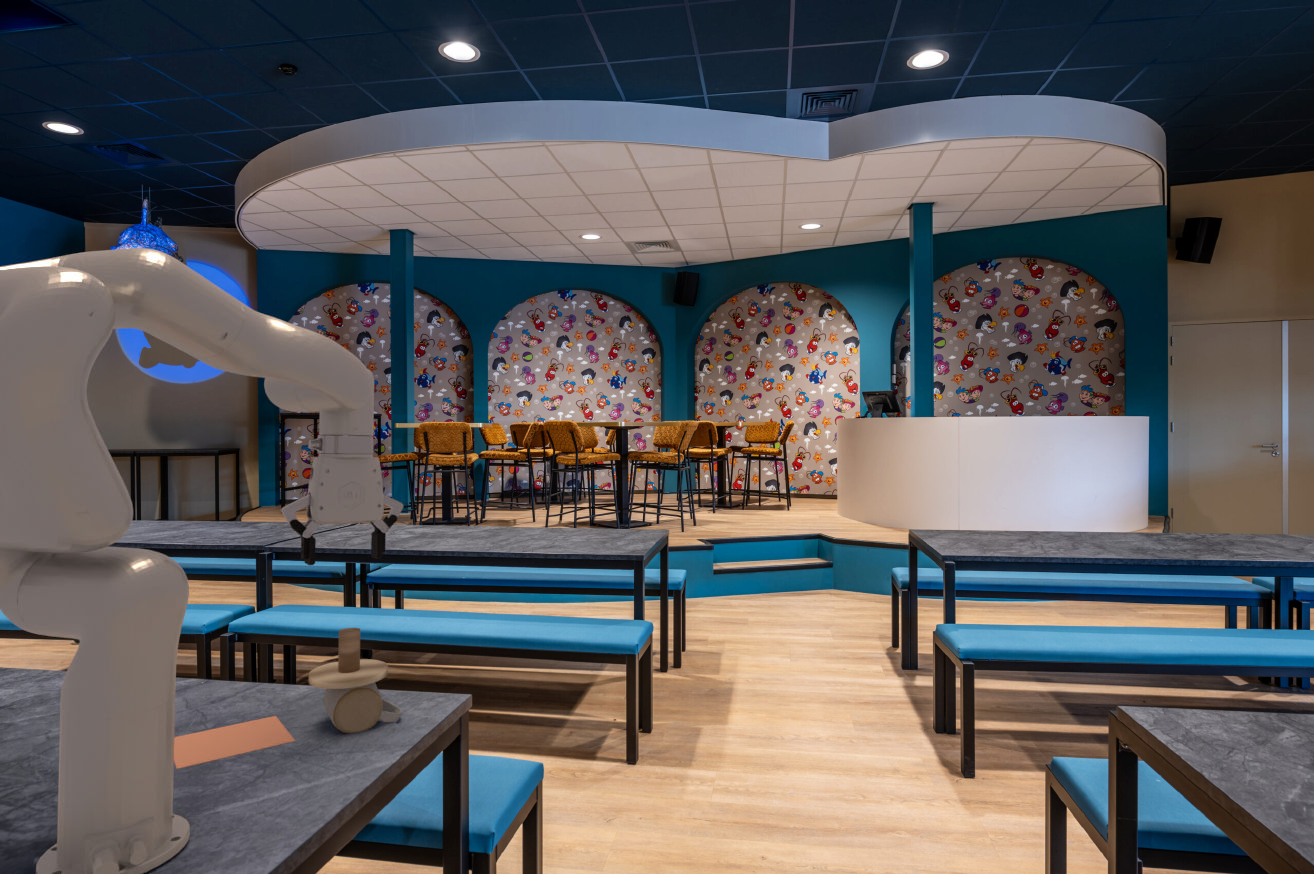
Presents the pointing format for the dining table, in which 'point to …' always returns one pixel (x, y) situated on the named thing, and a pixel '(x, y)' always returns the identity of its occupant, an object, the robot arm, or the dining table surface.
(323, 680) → the lid
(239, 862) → the dining table surface
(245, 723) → the mat
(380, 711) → the ceramic mug
